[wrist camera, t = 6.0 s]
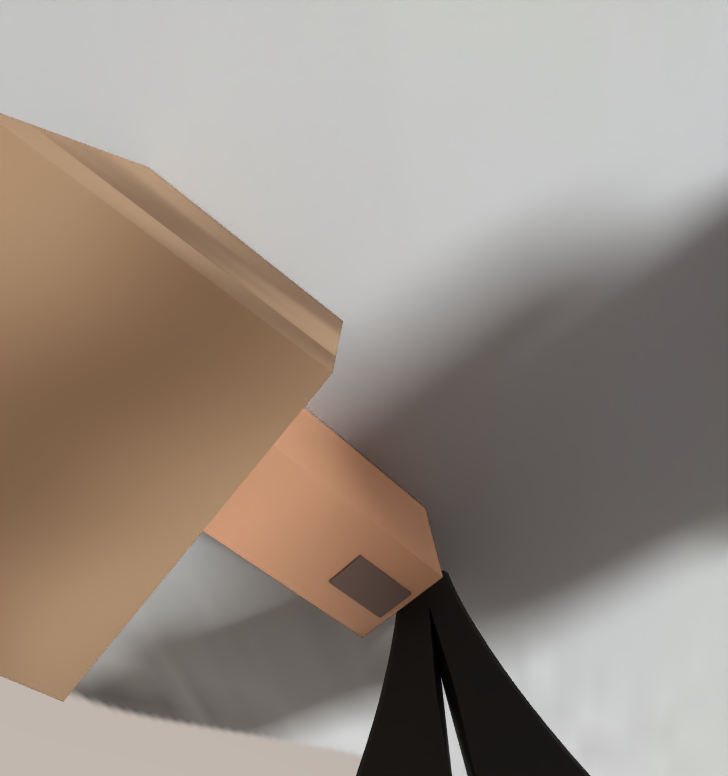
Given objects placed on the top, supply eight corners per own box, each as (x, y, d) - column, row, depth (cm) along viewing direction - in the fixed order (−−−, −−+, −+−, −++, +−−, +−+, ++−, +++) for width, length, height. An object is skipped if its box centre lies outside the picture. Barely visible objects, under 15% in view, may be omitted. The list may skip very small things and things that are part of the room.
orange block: (425, 507, 11) (443, 579, 9) (361, 560, 11) (362, 640, 9) (111, 246, 8) (16, 247, 6) (52, 332, 9) (-56, 363, 7)
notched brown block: (342, 321, 9) (332, 372, 5) (155, 558, 11) (62, 701, 8) (148, 167, 8) (-28, 102, 4) (-15, 466, 10) (-214, 586, 7)
